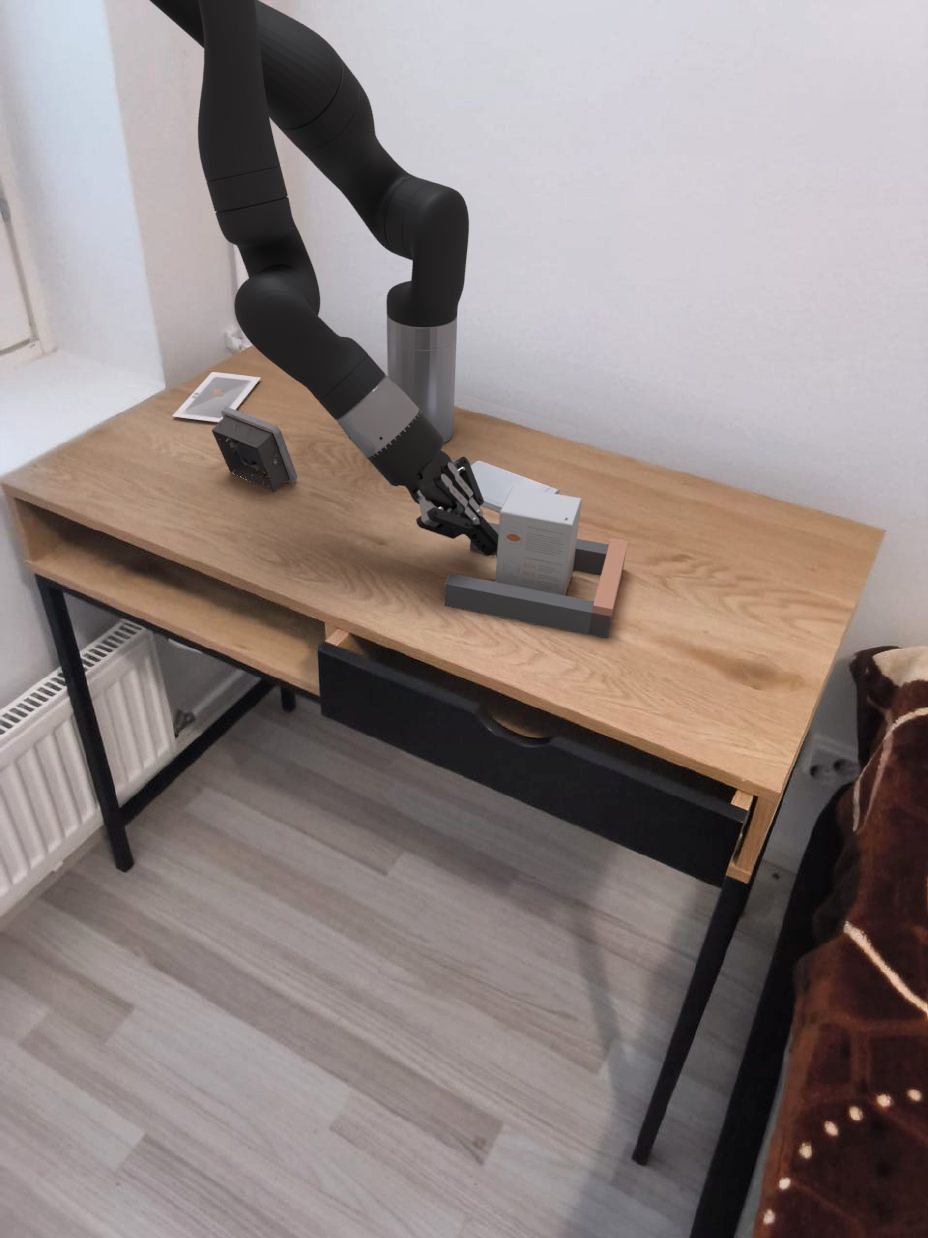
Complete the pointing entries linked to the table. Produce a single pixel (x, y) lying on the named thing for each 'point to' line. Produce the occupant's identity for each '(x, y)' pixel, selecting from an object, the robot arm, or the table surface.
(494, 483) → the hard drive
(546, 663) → the table surface
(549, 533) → the small box
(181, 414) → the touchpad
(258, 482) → the electrical switch
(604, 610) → the dock
